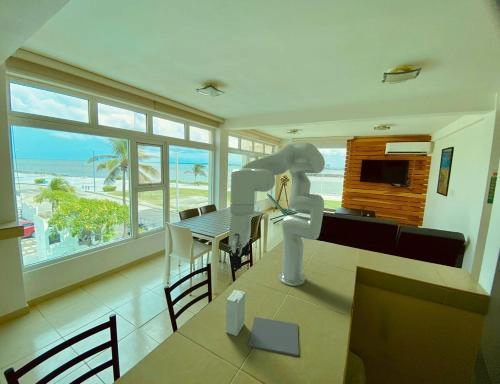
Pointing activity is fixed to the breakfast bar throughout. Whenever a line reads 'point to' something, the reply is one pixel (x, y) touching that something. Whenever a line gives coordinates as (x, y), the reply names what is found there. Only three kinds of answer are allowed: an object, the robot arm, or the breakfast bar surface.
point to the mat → (274, 336)
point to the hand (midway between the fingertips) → (240, 261)
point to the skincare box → (235, 312)
